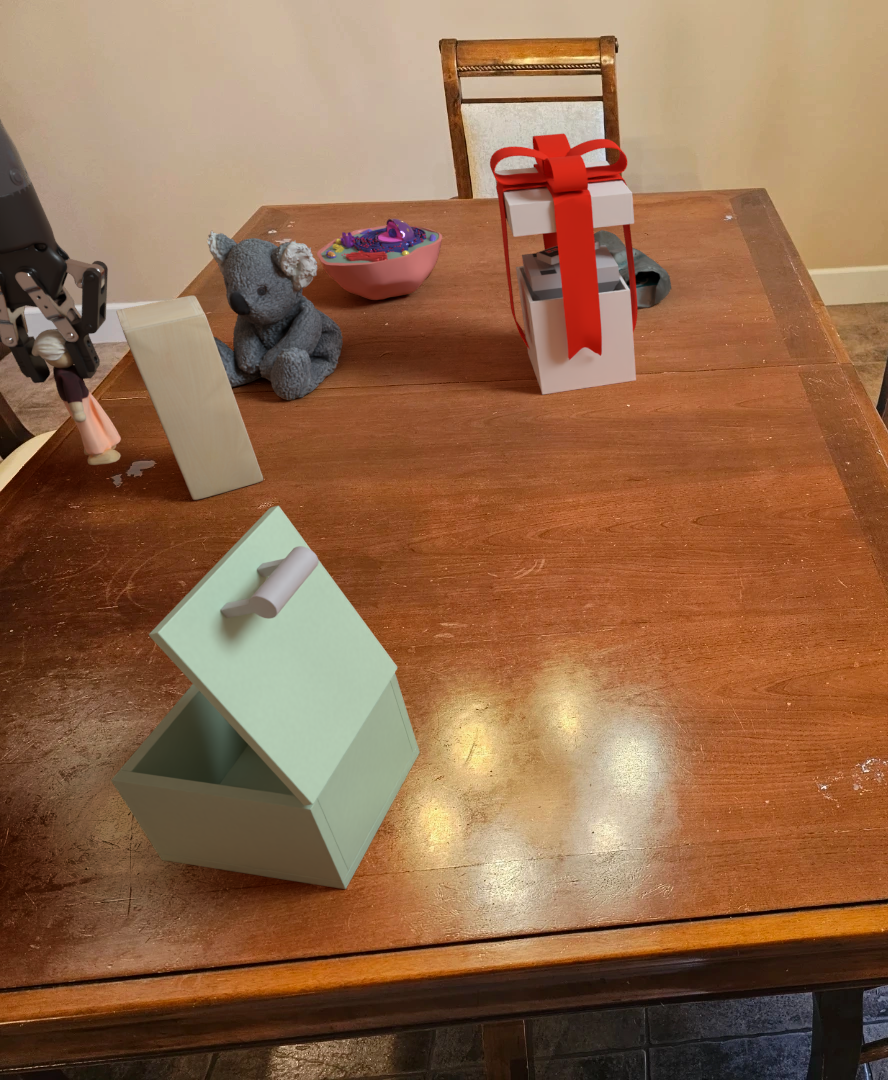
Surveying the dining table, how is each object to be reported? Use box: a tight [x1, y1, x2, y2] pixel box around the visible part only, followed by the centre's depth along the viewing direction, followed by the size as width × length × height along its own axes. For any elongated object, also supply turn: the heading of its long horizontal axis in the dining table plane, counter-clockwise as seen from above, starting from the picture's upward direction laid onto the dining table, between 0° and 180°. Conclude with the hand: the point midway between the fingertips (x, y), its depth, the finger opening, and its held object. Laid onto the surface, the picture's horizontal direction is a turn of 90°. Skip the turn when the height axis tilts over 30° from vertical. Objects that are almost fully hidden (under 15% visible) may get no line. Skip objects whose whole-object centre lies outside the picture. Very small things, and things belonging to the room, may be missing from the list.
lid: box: [148, 505, 398, 805], centre depth 61 cm, size 16×13×5 cm
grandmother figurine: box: [32, 328, 122, 466], centre depth 86 cm, size 8×4×13 cm, turn 45°
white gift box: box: [489, 133, 638, 395], centre depth 124 cm, size 17×17×30 cm
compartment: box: [110, 672, 421, 890], centre depth 70 cm, size 15×13×9 cm
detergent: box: [594, 229, 672, 310], centre depth 155 cm, size 13×7×25 cm
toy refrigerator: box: [116, 294, 264, 501], centre depth 104 cm, size 8×7×21 cm
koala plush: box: [206, 230, 344, 401], centre depth 127 cm, size 17×18×20 cm
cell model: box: [316, 218, 443, 301], centre depth 151 cm, size 17×20×11 cm
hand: (65, 376), depth 85 cm, fingers closed on grandmother figurine, 3 cm apart
